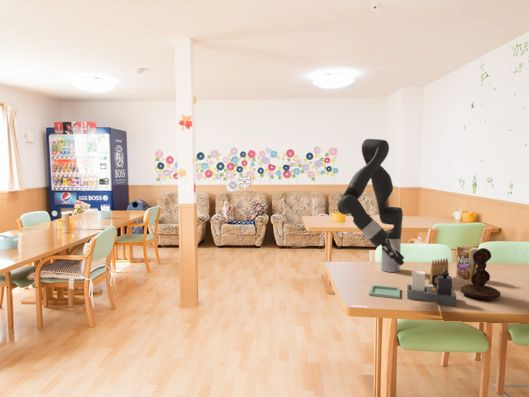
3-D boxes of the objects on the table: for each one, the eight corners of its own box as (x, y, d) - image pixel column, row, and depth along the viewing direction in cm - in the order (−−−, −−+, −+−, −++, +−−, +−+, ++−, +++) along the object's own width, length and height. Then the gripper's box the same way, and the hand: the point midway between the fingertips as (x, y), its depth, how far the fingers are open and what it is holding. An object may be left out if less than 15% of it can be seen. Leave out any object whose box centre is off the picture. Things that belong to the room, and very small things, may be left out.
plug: (411, 293, 168) (411, 270, 167) (423, 295, 167) (424, 271, 166) (411, 296, 164) (412, 273, 164) (424, 298, 163) (425, 274, 162)
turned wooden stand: (465, 288, 179) (467, 244, 177) (503, 295, 170) (505, 249, 168) (456, 296, 168) (458, 250, 166) (496, 304, 158) (499, 255, 157)
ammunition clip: (432, 286, 182) (433, 260, 181) (428, 285, 184) (429, 259, 182) (448, 283, 186) (450, 258, 185) (445, 282, 188) (446, 257, 187)
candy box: (455, 276, 197) (456, 246, 196) (462, 276, 199) (463, 245, 197) (469, 281, 189) (470, 250, 188) (476, 281, 190) (478, 249, 189)
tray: (371, 289, 177) (371, 284, 177) (399, 292, 174) (399, 287, 173) (369, 297, 166) (369, 293, 166) (399, 301, 162) (399, 296, 162)
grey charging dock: (407, 293, 172) (408, 263, 170) (453, 298, 166) (454, 267, 165) (407, 301, 162) (408, 269, 161) (456, 306, 156) (457, 273, 155)
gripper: (380, 229, 161) (409, 260, 159) (382, 224, 175) (409, 252, 172) (366, 241, 163) (395, 271, 161) (369, 235, 177) (395, 263, 174)
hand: (402, 261), depth 166 cm, fingers open, 8 cm apart
